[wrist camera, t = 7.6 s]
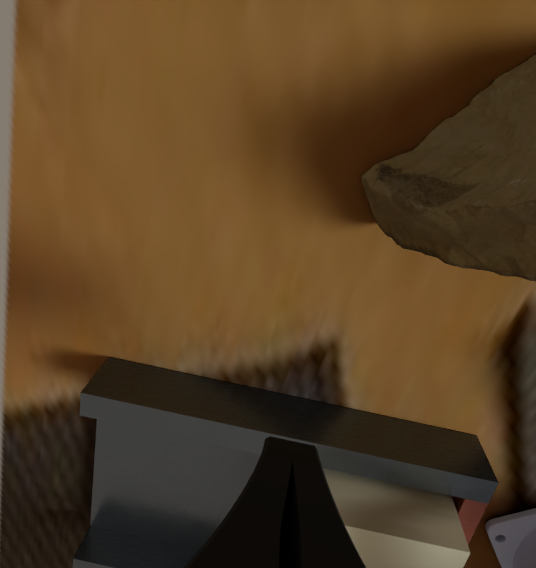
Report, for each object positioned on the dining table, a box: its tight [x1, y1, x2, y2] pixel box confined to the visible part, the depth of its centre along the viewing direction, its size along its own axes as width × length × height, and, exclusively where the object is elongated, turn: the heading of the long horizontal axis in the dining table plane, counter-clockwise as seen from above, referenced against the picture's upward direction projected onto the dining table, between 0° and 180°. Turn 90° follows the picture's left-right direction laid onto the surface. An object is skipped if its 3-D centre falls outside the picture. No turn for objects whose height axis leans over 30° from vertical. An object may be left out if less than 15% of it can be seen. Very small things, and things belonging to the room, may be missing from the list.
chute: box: [73, 357, 498, 568], centre depth 24 cm, size 18×11×3 cm, turn 79°
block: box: [323, 468, 470, 568], centre depth 22 cm, size 6×8×4 cm
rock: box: [361, 54, 536, 281], centre depth 15 cm, size 11×9×10 cm
